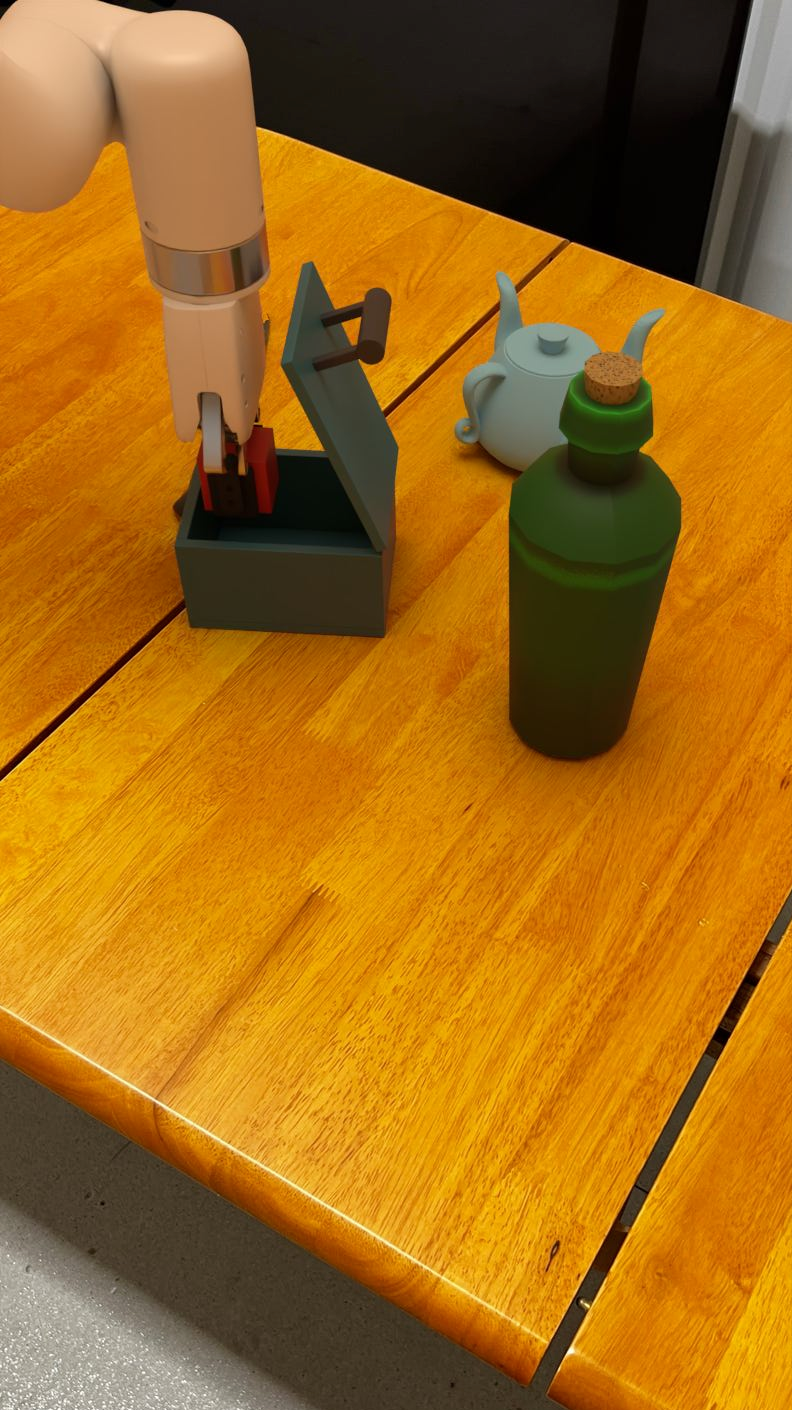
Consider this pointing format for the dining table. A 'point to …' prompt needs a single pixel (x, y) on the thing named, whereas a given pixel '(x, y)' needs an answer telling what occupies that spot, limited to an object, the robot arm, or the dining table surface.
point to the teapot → (530, 381)
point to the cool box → (286, 559)
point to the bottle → (588, 564)
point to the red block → (258, 458)
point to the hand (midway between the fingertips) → (241, 491)
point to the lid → (345, 394)
